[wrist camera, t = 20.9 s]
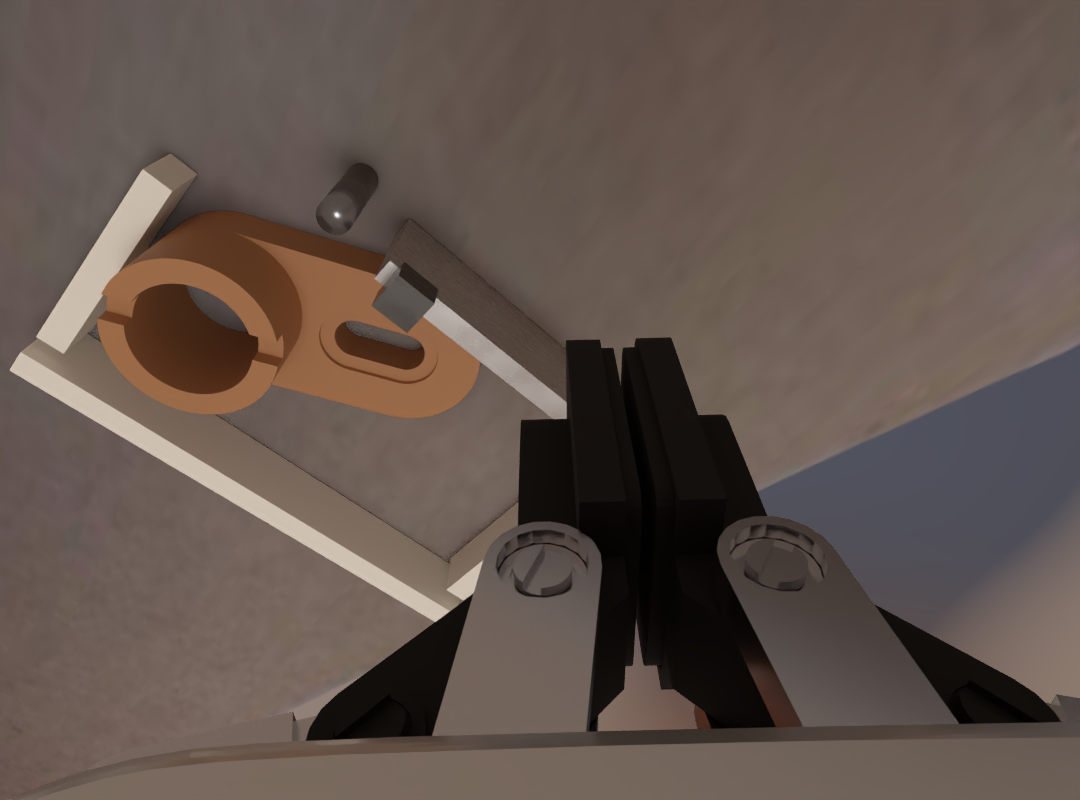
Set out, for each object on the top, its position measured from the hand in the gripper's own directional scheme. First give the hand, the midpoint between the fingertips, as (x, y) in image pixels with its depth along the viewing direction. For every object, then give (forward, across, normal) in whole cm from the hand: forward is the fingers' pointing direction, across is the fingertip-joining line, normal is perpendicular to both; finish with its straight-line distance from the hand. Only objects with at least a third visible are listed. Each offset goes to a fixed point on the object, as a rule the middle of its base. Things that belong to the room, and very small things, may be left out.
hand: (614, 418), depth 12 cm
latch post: (+27, +10, +3) cm, 29 cm away
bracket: (+28, +14, +10) cm, 32 cm away
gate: (+27, +2, +12) cm, 30 cm away
